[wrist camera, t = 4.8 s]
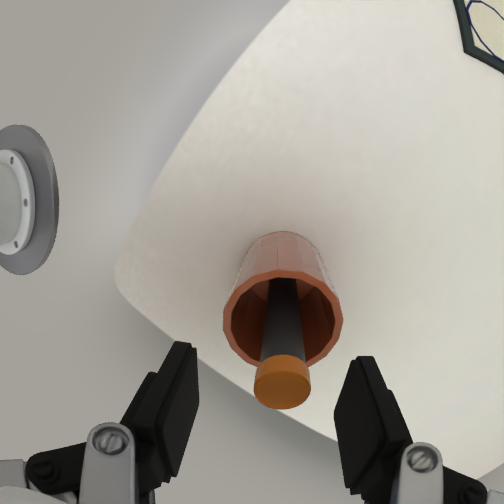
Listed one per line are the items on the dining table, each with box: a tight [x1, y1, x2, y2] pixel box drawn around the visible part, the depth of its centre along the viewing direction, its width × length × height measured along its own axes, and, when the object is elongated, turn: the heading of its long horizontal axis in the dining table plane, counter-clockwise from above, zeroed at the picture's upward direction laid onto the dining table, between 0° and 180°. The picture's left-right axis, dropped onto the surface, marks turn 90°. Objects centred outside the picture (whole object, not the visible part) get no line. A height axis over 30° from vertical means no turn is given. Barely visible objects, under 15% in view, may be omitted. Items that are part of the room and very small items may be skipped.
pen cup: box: [223, 232, 343, 367], centre depth 17 cm, size 6×6×8 cm
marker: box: [254, 277, 311, 410], centre depth 15 cm, size 2×2×12 cm
